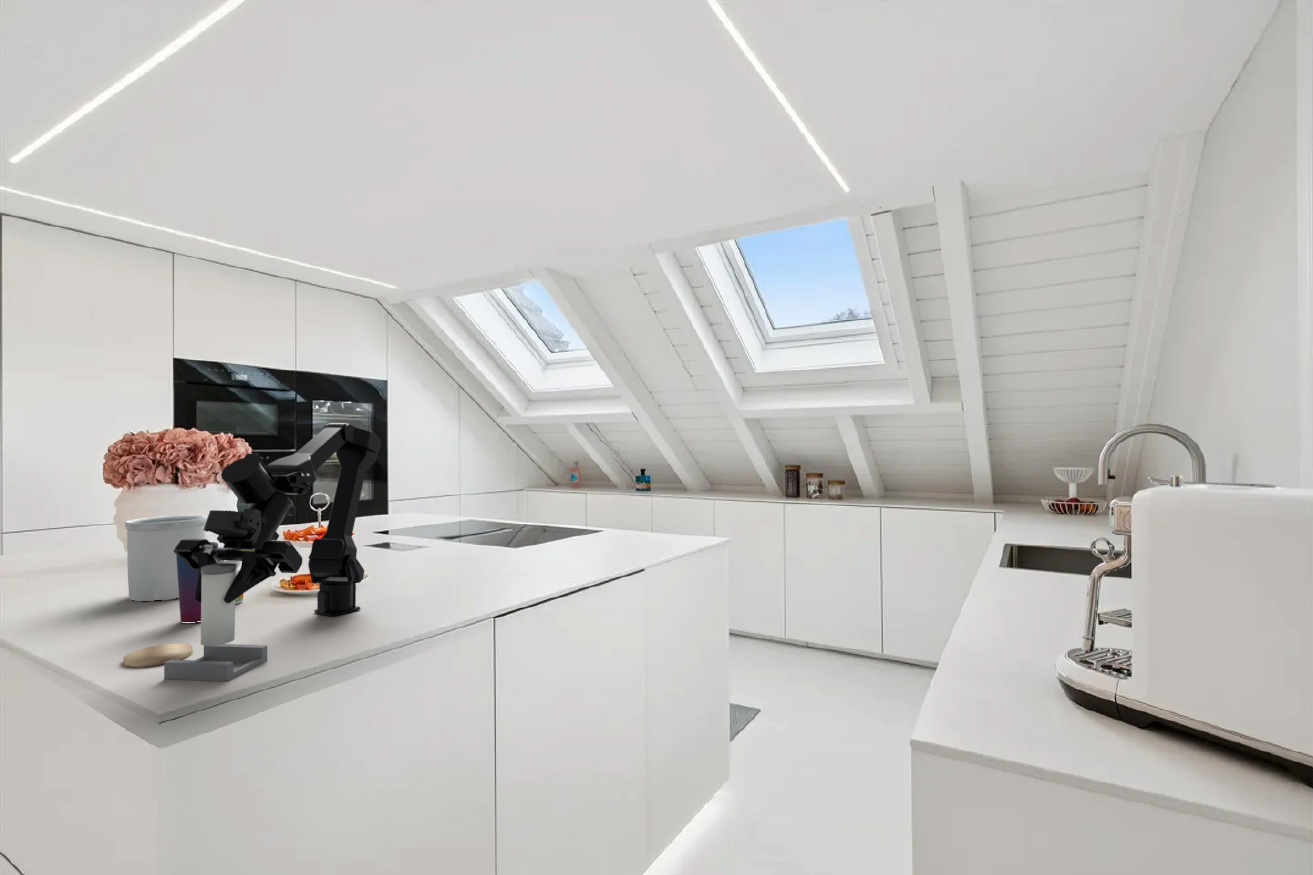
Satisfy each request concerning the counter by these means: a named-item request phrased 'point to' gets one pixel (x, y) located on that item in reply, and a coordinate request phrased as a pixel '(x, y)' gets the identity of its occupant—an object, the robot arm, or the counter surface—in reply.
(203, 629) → the white jar with lid
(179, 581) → the cup
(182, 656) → the coaster
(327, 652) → the counter surface
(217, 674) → the socket frame
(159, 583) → the utensil holder
